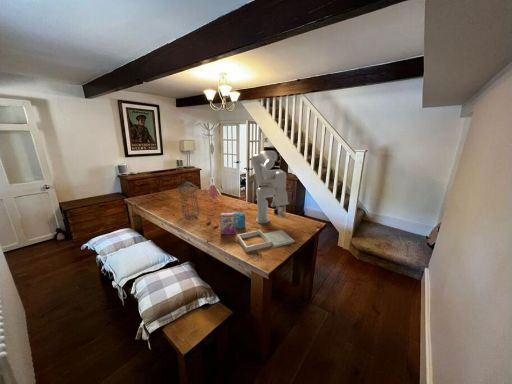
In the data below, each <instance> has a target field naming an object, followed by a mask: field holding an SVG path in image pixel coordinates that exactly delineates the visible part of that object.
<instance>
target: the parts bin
mask: <svg viewBox="0 0 512 384" xmlns="http://www.w3.org/2000/svg"><path fill="white" fill-rule="evenodd" d="M264 234H265V233H263V232H262V230H260V229H258V230H254V231H249V232H244V233H239V234H238V233H237V235H236V236H237V240H238V242H239V243H240V245H241V246H242V248H243V249H244V252H246V253H247V252H248V253H249V252H251V251H256V250H259V249H264V248H268V247H271V246H272V244H271V241H270V240H269V239H268V238H267V237H266V236H265V235H264ZM255 236H260V237H261V238H262V239H263V240H264V242H260V243H256V244H253V245H247V244H246V243H245V241H244V240H243V239H246V238H251V237H255Z"/></svg>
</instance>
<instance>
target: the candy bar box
mask: <svg viewBox="0 0 512 384" xmlns="http://www.w3.org/2000/svg"><path fill="white" fill-rule="evenodd" d="M219 217H220V218H219V219H220V222H219V223H220V224H219V226H220V234H221V235H235V234H236V227H235V213H233V212H220V214H219Z"/></svg>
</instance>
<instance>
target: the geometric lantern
mask: <svg viewBox="0 0 512 384" xmlns="http://www.w3.org/2000/svg"><path fill="white" fill-rule="evenodd" d="M191 186H192V187H193V188H192V187H191ZM199 188H200V187H198V186H197V185H195V184H193V183H191V182H189V181H184V182H183V183H182V184H181V185H179V186H177V187H176V189H177V190H178V191H179V193H180V194H181V195H180V200H181V201H180V202H182V205H181V213H182V214H183V216H184V217H185V218H186V219H188V220H190V219H191V220H193V219H196V218H198V215H200V208H199V203H198V201H197V200H198V198H197V197H198V196H197V194H196V193H195V192H196V191H197V190H198V189H199ZM184 193H186V194H184ZM185 195H186V197H184V196H185ZM189 195H191V196H190V197H188V196H189ZM187 199H192V200H191V206H192V209H189V207H188V201H187ZM193 203H194V204H193ZM185 205H186V208H185ZM194 205H195V206H194ZM186 209H187V210H186ZM190 211H193V212H191V213H189V212H190ZM195 212H197V213H195ZM191 214H192V215H191ZM193 217H194V218H193ZM191 220H190V221H191Z"/></svg>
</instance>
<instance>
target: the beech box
mask: <svg viewBox="0 0 512 384" xmlns="http://www.w3.org/2000/svg"><path fill="white" fill-rule="evenodd" d="M286 209H287V206H284V205H283V206H278V208H277V210H278V215H276V214H275V213H274V212H273V215H275V217H277V218H278V219H283V218H286V213H287V212H286Z"/></svg>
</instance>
